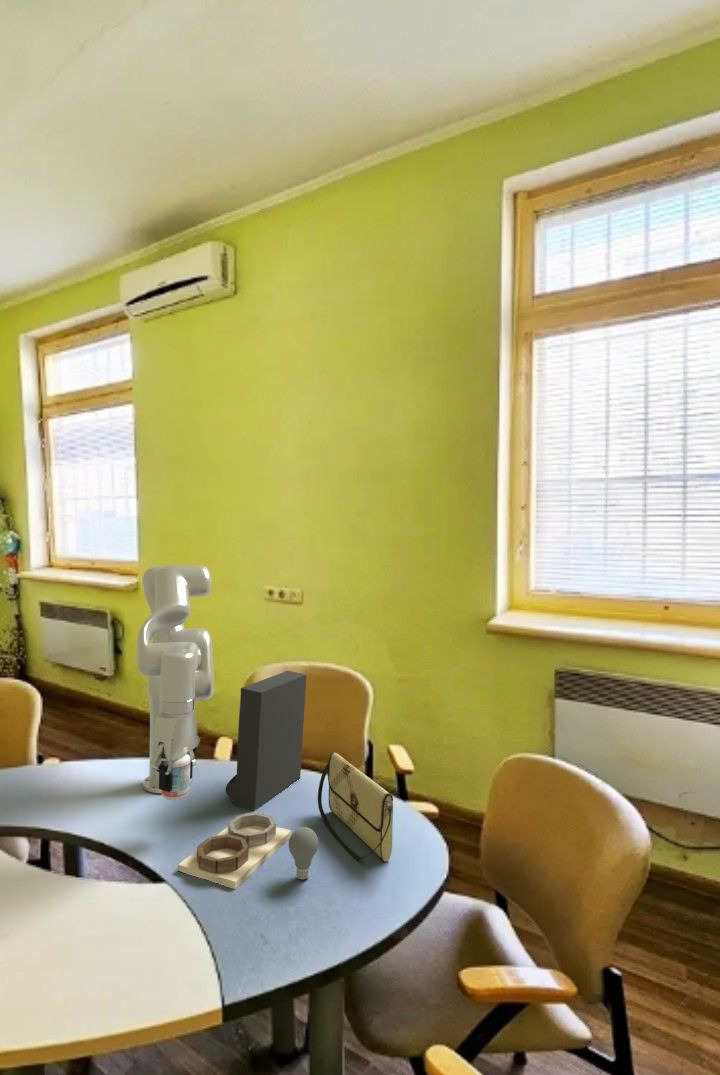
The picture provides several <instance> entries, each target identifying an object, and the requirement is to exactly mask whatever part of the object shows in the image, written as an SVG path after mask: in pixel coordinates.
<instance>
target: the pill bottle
mask: <svg viewBox="0 0 720 1075" xmlns="http://www.w3.org/2000/svg"><path fill="white" fill-rule="evenodd" d="M187 751H188V750H187V747H185V748H184V749H183V750H182V753H181V754H182V755H181V757H179V758H177V759H175V760H173V764H172V768H171V772H170V773H172V791H170V792H167V791H164V790H162V793H161V797H162V798H164V799H166V800H169V801H176V800H181V799H184V798H185V797H187V796H188V795H189V794H190V789H191V788H190V787H191V784H190V756H189V755H188V754H187ZM165 758H167V757H166V756H165ZM167 763H168V762H164V766H165V767H166V766H167Z"/></svg>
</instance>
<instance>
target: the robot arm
mask: <svg viewBox="0 0 720 1075" xmlns="http://www.w3.org/2000/svg"><path fill="white" fill-rule="evenodd" d="M212 580H213V578H212V575H211V572H210V569H209V568H208V567H207V566H205V565H197V564H196V565H194V564H193V565H189V564H188V565H187V564H186V565H185V564H183V565H181V564H180V565H179V564H178V565H176V564H175V565H159V566H158V565H157V566H152V567H150V568H147V569H146V570H145V571H144V573H143V575H142V585H143V592H144V597H145V599H146V603H147V606H148V607H149V610H150V613H151V615H149V616H148V618H147V619H146V620H145V621H144V622H143V623H142V625H141V627H140V628H139V631H138V633H137V639H136V665H137V666H136V667H137V670H138V672H139V673H140V674H141V675H143V676H146V677H148V678H147V679H146V680H147V681H146V682H147V683H146V685H147V686H146V688H147V697H148V703H149V770H148V771H149V775H148V776H147V777H145V778H144V780H143V782H142V786H143V789H144V790H145V791H147V792H149V793H153V794H162V790H164V791H167V792H170V791H172V773H170V772H171V768H172V764H173V760H175V759H177V758H179V757H181V755H182V754H181V753H182V750H183V749H184V748H185V747H187V750H188V751H187V754H188V755H189V756H190V785H191V784H192V781H193V779H192V778H193V768H194V766H196V764H197V761H196V759H195V757H196V756H195V754H196V752H197V750H198V746H199V745H200V742H201V737H199V736H198V724H197V723H198V721H197V719H198V718H197V712H196V707H195V705H196V704H195V703H197V702H204V701H209V700H210V699H211V698H212V697H213V695H214V693H215V692H214V691H215V673H214V672H215V670H214V652H213V651H214V650H213V641H212V637H211V634H210V632H209V631H208V630H207V629H205V628H200V627H198V628H196V627H195V628H186V626H185V623H186V622H187V620H188V619H189V618H190V616H191V613H192V612H191V611H192V609H191V602H190V600H191V599H190V598H192V597H193V598H195V597H198V598H199V597H207V596H209V595H210V593H211V591H212V584H213V582H212ZM151 640H152V642H150V641H151ZM165 756H166V757H167V758H165ZM164 762H168V763H167V766H166V767H165V766H164Z"/></svg>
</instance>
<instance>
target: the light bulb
mask: <svg viewBox="0 0 720 1075" xmlns="http://www.w3.org/2000/svg"><path fill="white" fill-rule="evenodd" d="M318 848H319V838H318V836H317V834H316V832H315V831H314V830H313V829H312V828H310V827H307V826H301V827H298V828H297V829H295V830H294V831H293V832H291V836H290V839H289V840H288V849H289V850H288V851H289V852H290V854H291V856H292V857H293V859H294V864H295V866H296V879H298V880H299V879H300V880H306V879H308V878H309V877H310V867H311V865H312V860H313V858H314V856H315V854H316V853H317V851H318Z"/></svg>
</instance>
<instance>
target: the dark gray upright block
mask: <svg viewBox="0 0 720 1075" xmlns="http://www.w3.org/2000/svg"><path fill="white" fill-rule="evenodd" d="M306 686H307V673H301V672H295V671H291V670H285V671H283V672H279V673H277V674H275V675H272V676H269V677H267V678H264V679H261V680H258V681H256V682H253V683H251V684H248V685H245V686H241V687H240V697H239V698H240V699H239V700H240V701H239V713H238V715H239V716H238V717H239V718H238V730H237V732H238V734H237V753H236V754H237V756H236V757H237V759H236V774H235V775H234V776H232V778H231V779H230V780H229V781H228V783H227V784H226V785H225V788H224V789H225V790H224V791H225V793H226V795H227V796H228V797H229V798H230V799H231V801H232V804H233V805H236V806H238V807H241V808H245V809H248V810H251V811H253V812H254V811H257V810H258V809H260V808H261V807H263V806H264V805H265V804H267V803H269V802H270V801H272V800H273V799H274V798H275V796H276V795H277V796H279V795H280V794H281V793H283V792H284V791H286V790H287V789H288V788H287V787H289V786H290V785H291V784H293V783H294V782H296V781H297V780H299V779H300V780H301V772H302V771H301V770H302V755H303V754H302V753H303V740H304V739H303V736H304V724H305V723H304V720H305V708H306V707H305V704H306V689H307V688H306ZM300 780H299V781H300ZM297 782H298V781H297ZM297 782H296V783H297ZM294 784H295V783H294ZM294 784H293V785H294ZM290 787H291V786H290ZM290 787H289V788H290ZM286 788H287V789H286ZM285 789H286V790H285ZM283 790H284V791H283ZM282 791H283V792H282ZM279 793H280V794H279ZM278 794H279V795H278ZM277 796H276V797H277ZM272 798H273V799H272Z"/></svg>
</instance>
